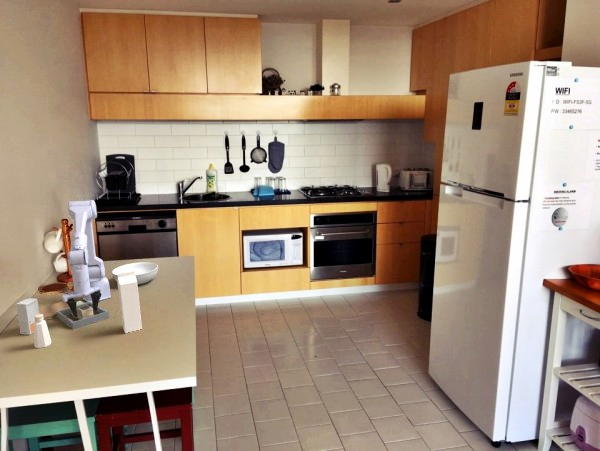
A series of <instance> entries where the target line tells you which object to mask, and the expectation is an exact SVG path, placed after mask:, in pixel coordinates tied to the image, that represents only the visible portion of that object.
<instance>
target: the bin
mask: <svg viewBox="0 0 600 451" xmlns="http://www.w3.org/2000/svg"><path fill="white" fill-rule="evenodd" d="M84 303H85V306H87V305H88V306H90V307H92V308H93V304H92V302H87V301H86V302H84ZM95 312H96V313H97V314H95V315H94V314H93V315H94V316H91V317H87V318H84V319H81V320H79V319H78V320H75V321H74V320H73V319H71V318H69V317H68V316H69V315H72V313H71V309H70V308H66V309H63V310H59V311H56V315H57V317H56V318H57V319H58V320H60V321H62V322H63V323H64V324H66V325H67V326H68V327H69V328H71V329H72V330H76V329H79V328H82V327H84V326H88V325H91V324H94V323H97V322H100V321H103V319H104V320H106V318H107V319H109V318H110V315H109V311H108V310H106V309H104V308H103V307H100V306H99V305H98V308H97V311H95Z"/></svg>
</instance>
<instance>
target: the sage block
mask: <svg viewBox="0 0 600 451" xmlns="http://www.w3.org/2000/svg"><path fill="white" fill-rule="evenodd" d="M76 302H77V303H76V309H77V308H80V307H83V306H85V303H86V302H83V301H81V300H79V301H76ZM71 313H72V311H71ZM71 316H72V317H74V316H73V313H72V314H71ZM74 318H75V319H79V317H78V309H77V317H74Z"/></svg>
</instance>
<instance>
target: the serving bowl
mask: <svg viewBox="0 0 600 451" xmlns="http://www.w3.org/2000/svg"><path fill="white" fill-rule="evenodd" d="M158 270H159V265H158V264H157V263H154V262H150V261H148V262H146V261H143V262H133V263H125V264H124V265H123V264H122V265H119V266H118V267H115V268H114V269H113V270H112V271H111V273H112V274H111V275H112V277H113V279H114V280H115V281H116V282H117V279H118V274H120V273H126V272H132V271H134V272H135V276H136V280H137V286H138V285H142V284H146V283H148V282H150V281H151V280H153V279H154V278H155V277H156V276H157V274H158Z"/></svg>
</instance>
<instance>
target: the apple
mask: <svg viewBox="0 0 600 451" xmlns="http://www.w3.org/2000/svg"><path fill="white" fill-rule="evenodd" d="M65 285H66V288H67V289H65V290H64V293H65V294H69V293H71V292H74V285H73V278H72V277H70V278H68V279H66V283H65Z"/></svg>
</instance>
